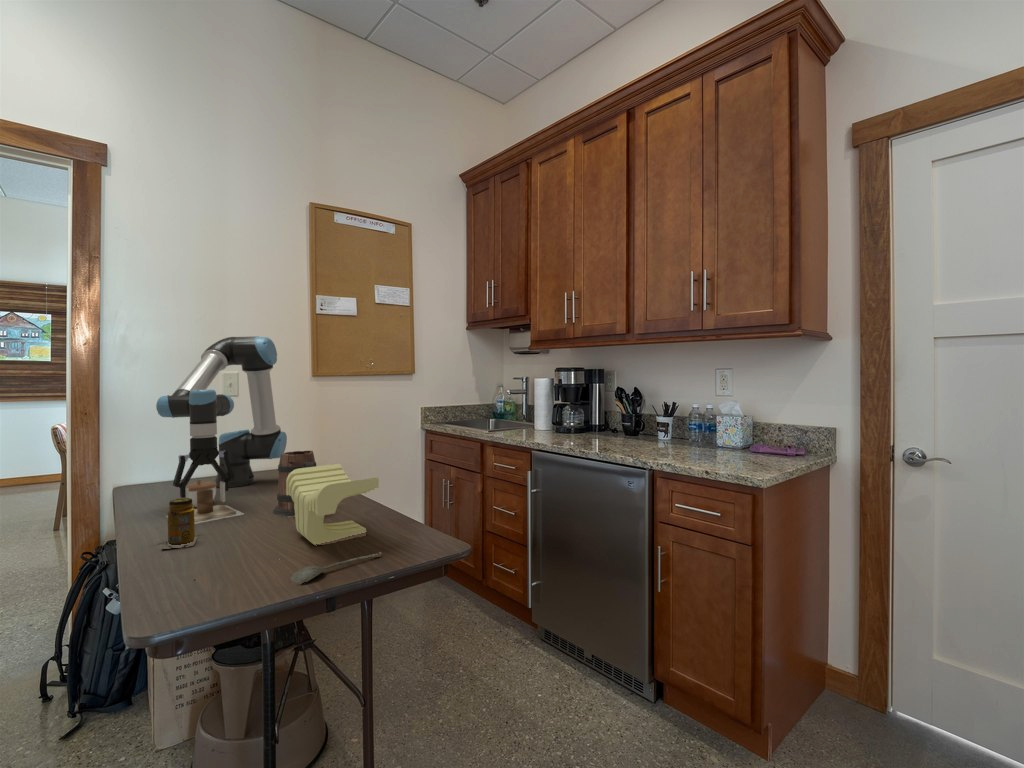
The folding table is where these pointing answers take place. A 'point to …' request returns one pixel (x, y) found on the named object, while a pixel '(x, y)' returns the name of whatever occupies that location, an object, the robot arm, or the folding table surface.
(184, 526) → the condiment
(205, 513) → the lid
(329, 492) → the slatted curved stool
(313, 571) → the soupspoon
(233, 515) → the mat
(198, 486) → the lidded jar
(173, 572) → the folding table surface
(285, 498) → the tankard
